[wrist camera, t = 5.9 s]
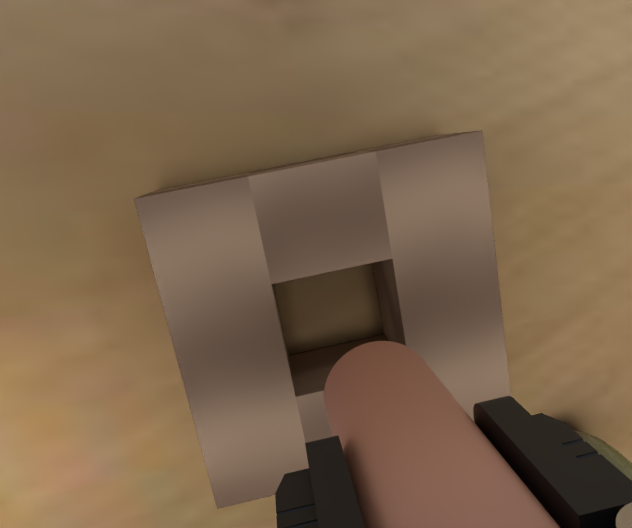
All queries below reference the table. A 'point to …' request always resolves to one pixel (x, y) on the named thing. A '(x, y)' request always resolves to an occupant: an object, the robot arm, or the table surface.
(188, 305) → the walnut block
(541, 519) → the long dowel
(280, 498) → the robot arm
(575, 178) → the table surface
